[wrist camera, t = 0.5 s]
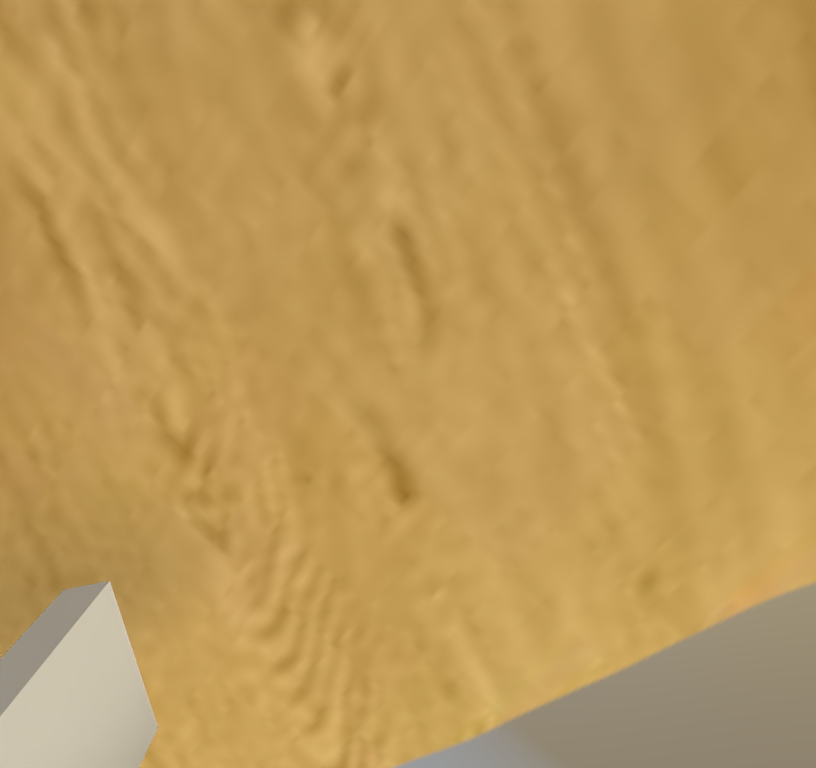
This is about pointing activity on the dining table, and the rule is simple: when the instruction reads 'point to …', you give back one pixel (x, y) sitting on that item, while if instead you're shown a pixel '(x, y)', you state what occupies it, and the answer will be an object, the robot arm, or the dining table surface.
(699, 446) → the dining table surface
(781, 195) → the dining table surface
